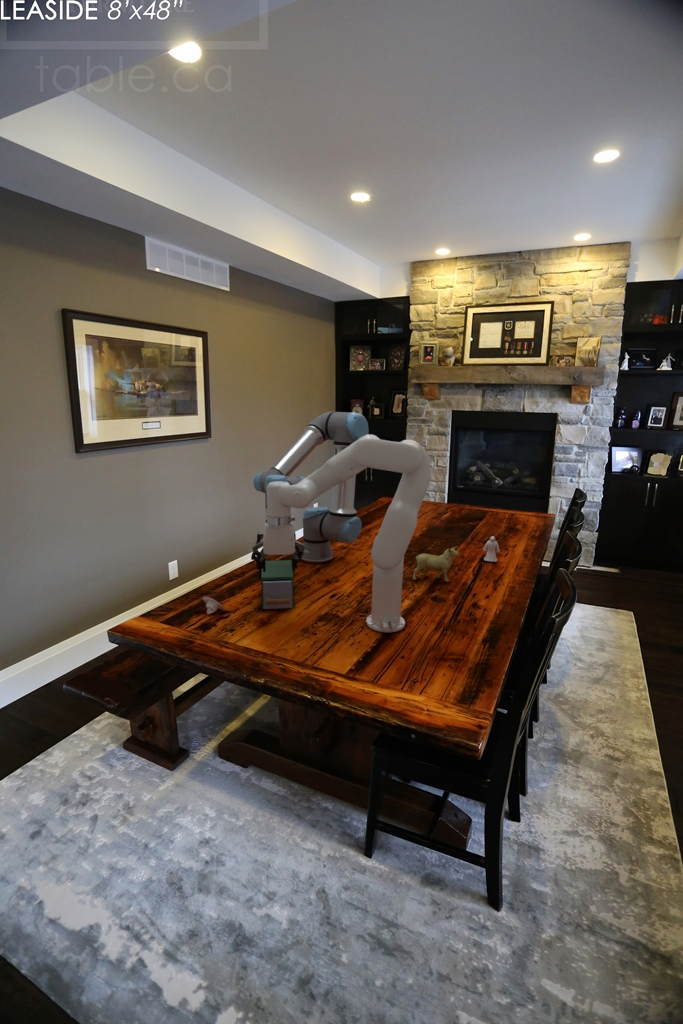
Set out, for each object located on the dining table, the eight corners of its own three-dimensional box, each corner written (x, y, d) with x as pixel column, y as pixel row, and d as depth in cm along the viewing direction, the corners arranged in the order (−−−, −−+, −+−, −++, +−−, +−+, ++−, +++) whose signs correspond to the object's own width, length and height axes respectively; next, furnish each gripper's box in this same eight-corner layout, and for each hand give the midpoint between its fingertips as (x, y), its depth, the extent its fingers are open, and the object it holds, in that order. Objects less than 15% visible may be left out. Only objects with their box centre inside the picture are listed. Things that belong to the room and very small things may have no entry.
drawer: (292, 615, 165) (292, 588, 163) (263, 617, 164) (262, 589, 161) (290, 590, 185) (290, 566, 183) (263, 591, 184) (263, 566, 182)
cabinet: (293, 607, 173) (293, 576, 171) (261, 609, 172) (261, 577, 169) (291, 589, 189) (291, 560, 186) (262, 590, 188) (261, 560, 185)
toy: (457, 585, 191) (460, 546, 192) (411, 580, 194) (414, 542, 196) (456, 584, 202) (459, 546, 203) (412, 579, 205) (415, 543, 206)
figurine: (481, 562, 222) (483, 536, 219) (482, 556, 230) (484, 531, 227) (499, 564, 220) (501, 538, 217) (499, 558, 228) (501, 533, 225)
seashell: (209, 622, 169) (193, 604, 168) (220, 611, 173) (205, 594, 172) (217, 618, 163) (201, 599, 162) (228, 607, 167) (213, 589, 166)
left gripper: (308, 515, 183) (308, 572, 188) (243, 516, 179) (245, 574, 185) (309, 521, 176) (309, 579, 181) (242, 522, 172) (244, 581, 178)
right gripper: (305, 516, 165) (304, 565, 169) (252, 517, 163) (253, 566, 167) (306, 522, 158) (306, 573, 162) (251, 523, 156) (252, 575, 160)
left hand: (277, 576), depth 183 cm, fingers closed on cabinet, 11 cm apart
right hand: (279, 570), depth 165 cm, fingers open, 9 cm apart
